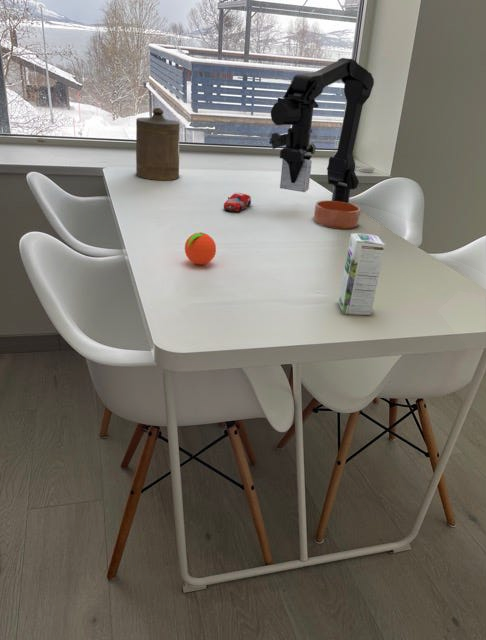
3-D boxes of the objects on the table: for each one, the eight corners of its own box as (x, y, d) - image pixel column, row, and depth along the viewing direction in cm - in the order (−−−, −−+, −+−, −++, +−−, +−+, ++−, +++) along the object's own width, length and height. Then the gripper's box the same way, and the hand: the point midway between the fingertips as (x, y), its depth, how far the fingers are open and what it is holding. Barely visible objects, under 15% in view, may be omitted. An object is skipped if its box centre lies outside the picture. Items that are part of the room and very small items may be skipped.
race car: (237, 214, 171) (238, 200, 169) (220, 211, 173) (221, 197, 171) (253, 205, 182) (254, 192, 180) (237, 202, 184) (238, 189, 182)
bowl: (318, 214, 180) (321, 198, 178) (360, 221, 177) (363, 205, 175) (309, 224, 169) (311, 207, 166) (353, 232, 166) (356, 214, 164)
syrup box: (337, 303, 118) (349, 232, 111) (365, 304, 119) (379, 234, 112) (342, 314, 113) (355, 241, 106) (372, 316, 114) (386, 243, 107)
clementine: (199, 272, 126) (200, 240, 122) (174, 264, 129) (175, 232, 125) (221, 264, 132) (223, 233, 128) (197, 256, 135) (198, 226, 131)
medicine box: (308, 190, 175) (312, 160, 171) (304, 193, 171) (308, 162, 167) (284, 186, 177) (287, 156, 172) (279, 188, 173) (282, 157, 169)
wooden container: (187, 177, 209) (188, 110, 198) (159, 182, 198) (159, 111, 187) (156, 169, 215) (156, 104, 204) (127, 174, 204) (125, 105, 193)
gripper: (283, 118, 174) (277, 172, 182) (264, 123, 159) (259, 182, 167) (319, 123, 172) (312, 177, 180) (303, 129, 157) (297, 188, 164)
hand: (295, 181), depth 173 cm, fingers closed on medicine box, 4 cm apart
